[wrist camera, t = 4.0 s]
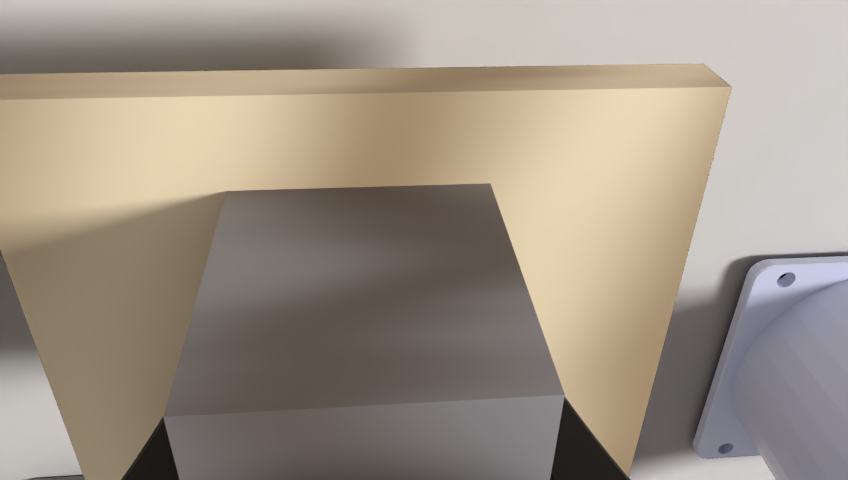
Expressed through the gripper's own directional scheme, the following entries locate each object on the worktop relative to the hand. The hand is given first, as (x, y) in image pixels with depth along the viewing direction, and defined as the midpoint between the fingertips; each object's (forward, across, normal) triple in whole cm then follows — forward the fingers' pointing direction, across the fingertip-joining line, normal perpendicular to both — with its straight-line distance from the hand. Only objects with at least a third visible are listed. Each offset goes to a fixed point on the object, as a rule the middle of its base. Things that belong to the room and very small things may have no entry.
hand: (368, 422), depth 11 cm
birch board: (+3, 0, 0) cm, 3 cm away
